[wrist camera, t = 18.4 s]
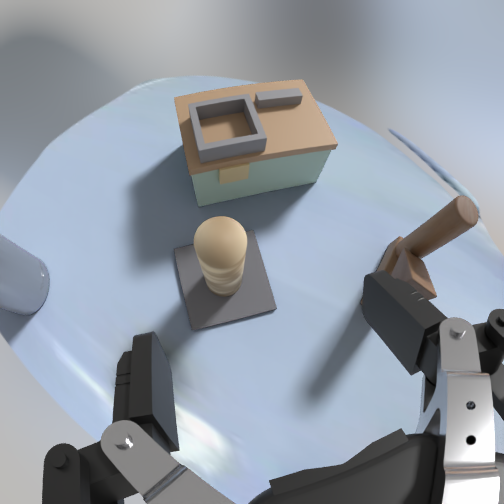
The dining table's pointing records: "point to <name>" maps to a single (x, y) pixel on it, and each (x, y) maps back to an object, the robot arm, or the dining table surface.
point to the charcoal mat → (231, 307)
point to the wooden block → (427, 244)
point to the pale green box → (252, 139)
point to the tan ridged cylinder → (221, 254)
